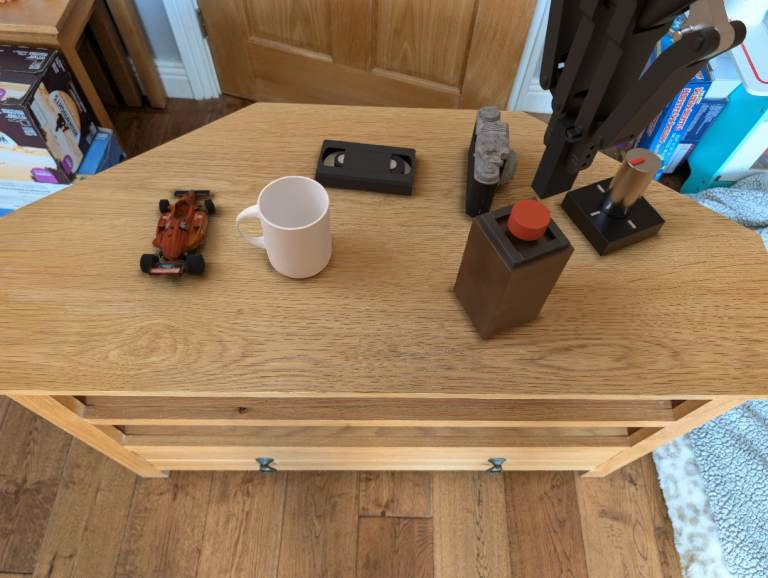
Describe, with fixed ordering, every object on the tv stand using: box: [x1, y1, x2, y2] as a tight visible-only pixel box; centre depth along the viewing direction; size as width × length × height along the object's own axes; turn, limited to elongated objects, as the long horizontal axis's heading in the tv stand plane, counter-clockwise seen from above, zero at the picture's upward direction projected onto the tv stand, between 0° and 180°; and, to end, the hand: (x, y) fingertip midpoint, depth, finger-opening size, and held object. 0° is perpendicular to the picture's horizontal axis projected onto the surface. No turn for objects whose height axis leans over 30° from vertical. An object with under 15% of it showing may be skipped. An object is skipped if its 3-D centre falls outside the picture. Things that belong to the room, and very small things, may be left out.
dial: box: [601, 147, 662, 218], centre depth 75 cm, size 4×4×9 cm
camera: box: [464, 105, 519, 219], centre depth 80 cm, size 15×7×10 cm, turn 174°
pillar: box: [452, 196, 575, 341], centre depth 66 cm, size 8×8×16 cm
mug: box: [235, 175, 333, 279], centre depth 71 cm, size 9×12×11 cm
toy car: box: [139, 189, 217, 277], centre depth 75 cm, size 8×16×4 cm, turn 0°
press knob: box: [508, 198, 552, 241], centre depth 58 cm, size 4×4×2 cm
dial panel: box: [560, 175, 667, 257], centre depth 80 cm, size 10×10×3 cm
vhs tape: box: [314, 138, 417, 197], centre depth 84 cm, size 14×8×2 cm, turn 84°
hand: (550, 188), depth 43 cm, fingers closed
